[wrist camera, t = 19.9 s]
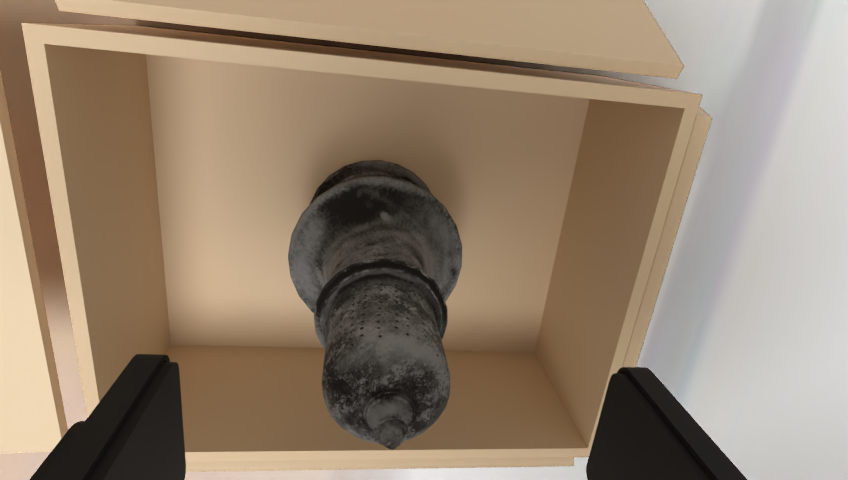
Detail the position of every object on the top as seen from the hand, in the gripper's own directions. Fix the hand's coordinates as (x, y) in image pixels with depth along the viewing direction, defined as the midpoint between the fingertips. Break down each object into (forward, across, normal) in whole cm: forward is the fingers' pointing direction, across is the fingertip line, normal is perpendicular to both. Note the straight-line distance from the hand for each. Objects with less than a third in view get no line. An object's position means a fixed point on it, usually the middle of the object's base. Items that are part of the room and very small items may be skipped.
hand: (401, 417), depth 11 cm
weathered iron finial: (+11, 0, -1) cm, 11 cm away
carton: (+11, -1, -1) cm, 11 cm away
